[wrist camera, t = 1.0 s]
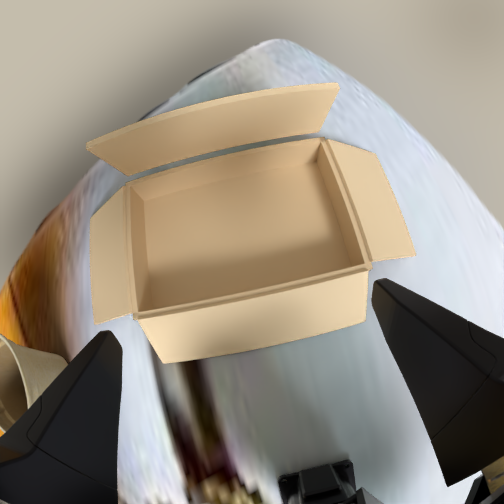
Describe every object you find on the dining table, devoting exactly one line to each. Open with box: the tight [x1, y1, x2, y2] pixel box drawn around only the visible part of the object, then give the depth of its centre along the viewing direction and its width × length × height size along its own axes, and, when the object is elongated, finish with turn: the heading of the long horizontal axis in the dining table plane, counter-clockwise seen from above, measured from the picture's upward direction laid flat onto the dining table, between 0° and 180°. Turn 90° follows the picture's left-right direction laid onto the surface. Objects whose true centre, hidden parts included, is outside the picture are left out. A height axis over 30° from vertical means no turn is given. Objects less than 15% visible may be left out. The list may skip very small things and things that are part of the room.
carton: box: [90, 137, 416, 364], centre depth 22 cm, size 16×30×4 cm, turn 102°
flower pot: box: [0, 334, 68, 433], centre depth 17 cm, size 9×9×9 cm
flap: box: [86, 83, 340, 176], centre depth 18 cm, size 1×17×7 cm, turn 103°
